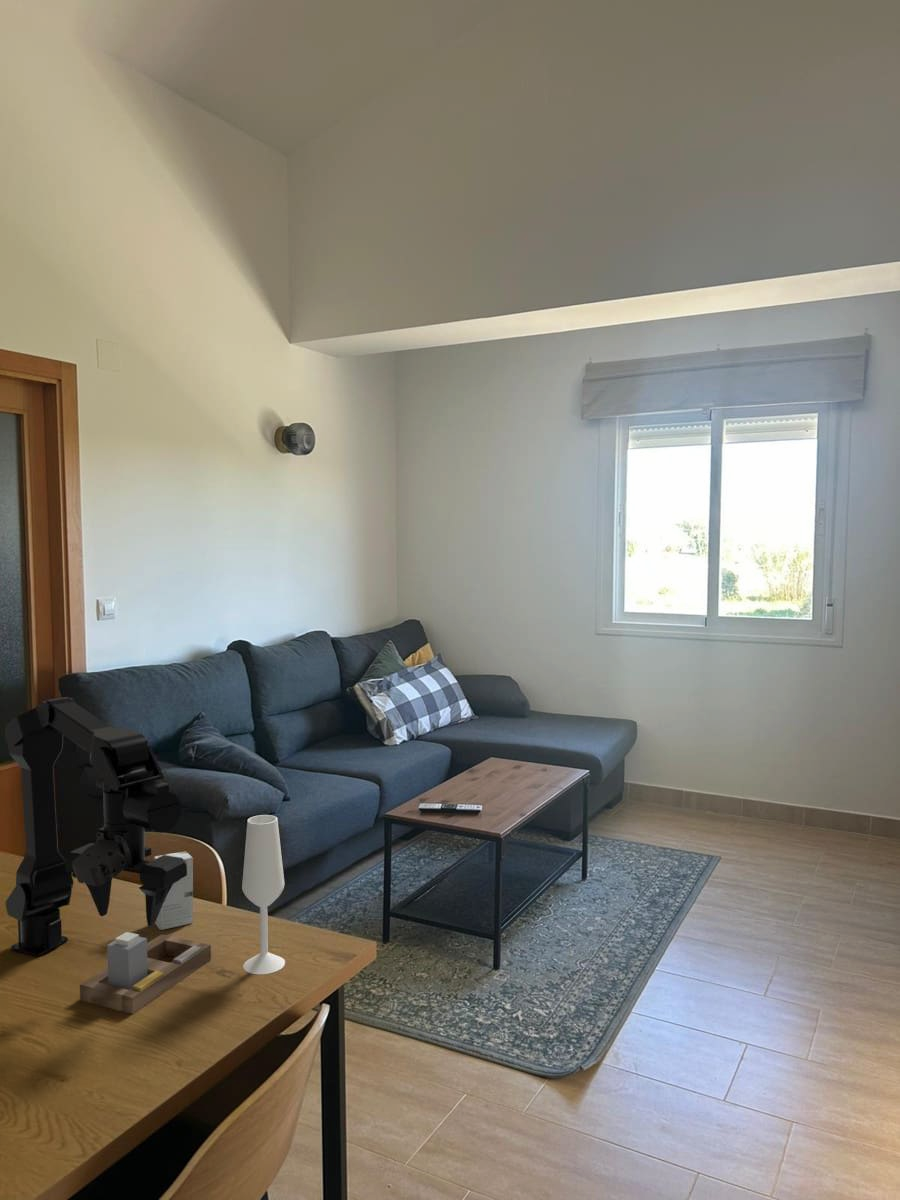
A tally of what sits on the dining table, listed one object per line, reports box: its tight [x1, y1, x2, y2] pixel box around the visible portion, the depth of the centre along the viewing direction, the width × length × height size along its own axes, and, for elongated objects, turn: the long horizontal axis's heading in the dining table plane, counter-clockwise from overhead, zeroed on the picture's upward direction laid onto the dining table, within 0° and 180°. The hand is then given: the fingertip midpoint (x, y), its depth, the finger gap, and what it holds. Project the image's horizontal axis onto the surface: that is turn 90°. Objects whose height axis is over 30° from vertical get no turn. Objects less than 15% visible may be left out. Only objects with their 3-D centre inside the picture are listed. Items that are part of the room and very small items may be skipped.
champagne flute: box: [241, 814, 286, 975], centre depth 141 cm, size 7×7×24 cm
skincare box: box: [153, 851, 194, 931], centre depth 157 cm, size 6×4×12 cm
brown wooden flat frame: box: [79, 934, 212, 1015], centre depth 137 cm, size 10×18×3 cm, turn 158°
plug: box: [106, 931, 148, 990], centre depth 133 cm, size 4×4×9 cm
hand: (127, 920), depth 132 cm, fingers open, 9 cm apart
